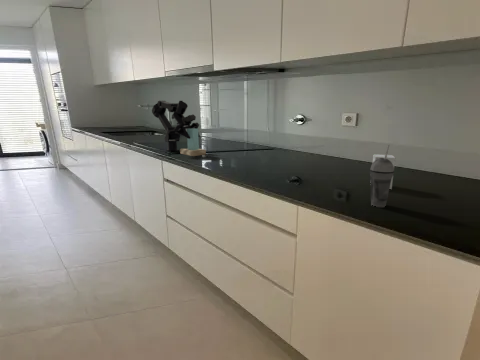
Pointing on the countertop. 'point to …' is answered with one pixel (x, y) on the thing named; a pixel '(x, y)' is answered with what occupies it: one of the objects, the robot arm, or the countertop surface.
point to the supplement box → (389, 157)
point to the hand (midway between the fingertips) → (194, 137)
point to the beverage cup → (381, 180)
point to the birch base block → (193, 152)
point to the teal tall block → (193, 139)
